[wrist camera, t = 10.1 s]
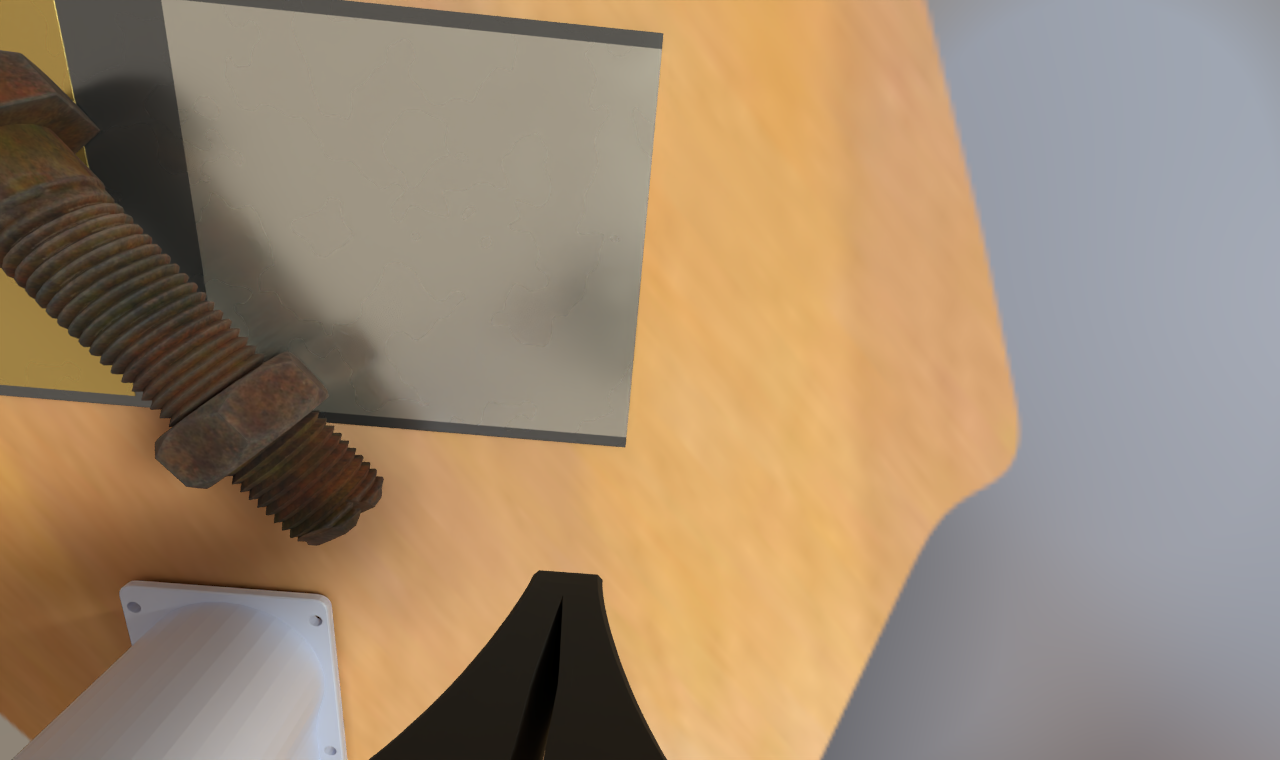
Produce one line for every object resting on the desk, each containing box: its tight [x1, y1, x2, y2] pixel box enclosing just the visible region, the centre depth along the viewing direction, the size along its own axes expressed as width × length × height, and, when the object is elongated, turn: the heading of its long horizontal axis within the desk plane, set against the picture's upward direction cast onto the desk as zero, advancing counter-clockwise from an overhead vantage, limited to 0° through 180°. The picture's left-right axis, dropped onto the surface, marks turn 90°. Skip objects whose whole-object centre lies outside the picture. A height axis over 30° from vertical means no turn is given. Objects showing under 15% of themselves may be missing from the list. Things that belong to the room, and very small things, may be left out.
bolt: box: [0, 50, 384, 546], centre depth 18 cm, size 6×5×15 cm
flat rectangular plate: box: [0, 0, 663, 447], centre depth 19 cm, size 13×28×1 cm, turn 85°
